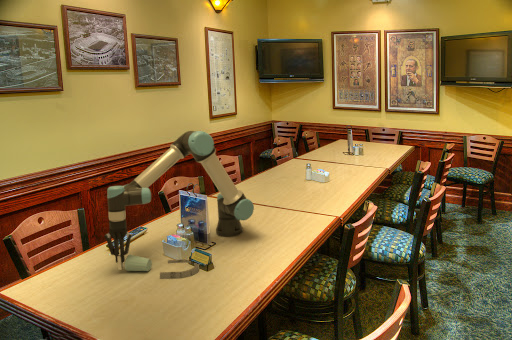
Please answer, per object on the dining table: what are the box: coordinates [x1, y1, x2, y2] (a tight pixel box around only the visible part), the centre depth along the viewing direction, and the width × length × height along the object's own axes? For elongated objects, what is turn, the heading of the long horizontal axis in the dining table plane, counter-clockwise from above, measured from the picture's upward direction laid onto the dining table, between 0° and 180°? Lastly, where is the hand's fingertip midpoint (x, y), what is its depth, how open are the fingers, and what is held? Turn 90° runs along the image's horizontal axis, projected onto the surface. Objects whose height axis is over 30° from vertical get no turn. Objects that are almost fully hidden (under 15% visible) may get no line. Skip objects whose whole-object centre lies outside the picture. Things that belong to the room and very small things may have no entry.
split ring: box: [159, 258, 200, 280], centre depth 206 cm, size 16×18×2 cm
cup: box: [124, 254, 153, 272], centre depth 207 cm, size 8×8×10 cm
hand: (120, 269), depth 206 cm, fingers closed
